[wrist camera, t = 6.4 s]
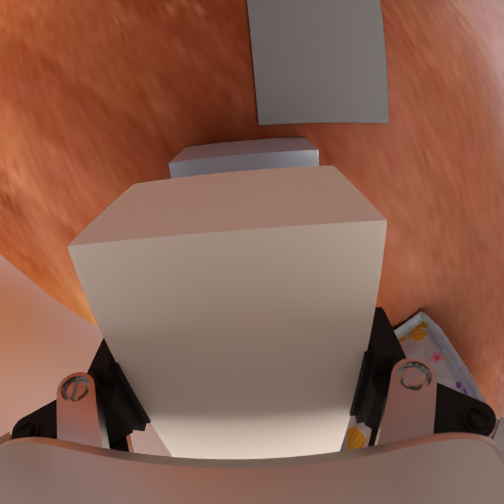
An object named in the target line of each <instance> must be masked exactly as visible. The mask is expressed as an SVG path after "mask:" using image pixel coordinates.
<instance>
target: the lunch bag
mask: <svg viewBox="0 0 504 504" xmlns="http://www.w3.org/2000/svg"><path fill="white" fill-rule="evenodd" d="M394 332H395V334H396V336H397V338H398V340H399V343H400V345H401V347H402V349H403V351H404V353H405V355H406V358H418V359H422V360H424V361H426V362H428V363H429V364H430V365H431V366H432V367H433V368H434V370H435V372H436V376H437V382H438V383H440V384H442V385H445V386H447V387H449V388H452V389H454V390H456V391H458V392H461V393H463V394H465V395H468V396H470V397H473V398H475V399H477V400H480V401H482V402H484V403H486V401H485V399H484V398H483V396H482V394H481V392H480V390H479V388H478V386H477V384H476V382H475V380H474V379H473V377H472V375H471V373H470V372H469V370H468V368H467V366H466V365H465V363H464V362H463V360H462V359H461V357H460V356H459V355H458V353H457V352H456V350H455V349H454V347H453V346H452V344H451V342H450V341H449V339H448V338H447V336H446V335H445V333H444V332H443V330H442V329H441V328H440V326H438V325H437V324H436V323H435V322H434V321H433V320H432V319H431V318H430V317H429V316H428V315H427V314H426V313H424V312H422V311H420V312H419V313H418V314H416V315H415V316H414V317H412V318H411V319H409V320H408V321H407V322H405V323H404V324H403V325H401V326H400V327H399V328H397V329H396V330H394ZM370 430H371V428H369V427H367V426H365V423H358V424H357V422H356V418H355V416H350V420H349V423H348V426H347V430H346V433H345V436H344V439H343V443H342V446H341V449H340V451H345V450H351V449H357V448H363V447H366V446H367V442H368V438H369V434H370Z"/></svg>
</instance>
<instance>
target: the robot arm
mask: <svg viewBox="0 0 504 504" xmlns="http://www.w3.org/2000/svg"><path fill="white" fill-rule="evenodd" d="M349 414H350V416H355V418H356V422H357V424H358V423H365V426H367V427H369V428H371V430H370V434H369V438H368V442H367V446H366V447H363V448H357V449H351V450H345V451H338V452H331V453H324V454H315V455H306V456H295V457H283V458H265V459H197V458H180V457H168V456H157V455H148V454H140V453H134V450H133V446H132V442H131V437H130V434H131V433H132V432H133V430H139V431H145V427H146V423H150V422H151V420H150V419H149V417H148V415H147V414H146V412H145V410H144V409H143V407H142V405H141V403H140V402H139V400H138V398H137V396H136V395H135V393H134V391H133V389H132V388H131V386H130V384H129V382H128V380H127V378H126V376H125V375H124V373H123V371H122V369H121V367H120V365H119V363H116V361H115V359H114V357H113V355H112V353H111V351H110V349H109V347H108V345H107V343H106V341H105V339H103V340H102V343H101V345H100V347H99V349H98V351H97V353H96V355H95V357H94V359H93V361H92V364H91V366H90V368H89V370H88V372H87V373H82V372H78V373H74V374H71V375H69V376H67V377H66V378H65V379H63V381H62V382H61V383H60V385H59V386H58V390H57V399H56V400H54V401H53V402H51V403H49V404H47V405H45V406H44V407H42V408H40V409H38V410H36V411H35V412H33V413H31V414H29V415H27V416H25V417H23V418H22V419H20V420H19V421H18V422H17V423H16V425H15V426H14V428H13V431H12V435H11V434H10V433H7V434H5V435H3V436H1V437H0V504H504V417H501V418H500V419H498V418H496V417H495V413H494V411H493V409H492V408H491V407H490V406H489V405H487V404H486V403H484V402H482V401H480V400H477V399H475V398H473V397H470V396H468V395H465V394H463V393H461V392H458V391H456V390H454V389H452V388H449V387H447V386H445V385H442V384H440V383H438V382H437V376H436V372H435V370H434V368H433V367H432V366H431V365H430V364H429V363H428V362H426V361H424V360H422V359H418V358H406V355H405V353H404V351H403V349H402V347H401V345H400V343H399V340H398V338H397V336H396V334H395V332H394V330H393V328H392V326H391V324H390V322H389V320H388V318H387V316H386V314H385V312H384V310H383V309H382V308H381V307H377V308H375V313H374V318H373V324H372V329H371V334H370V339H369V344H368V348H367V351H365V352H364V356H363V360H362V365H361V369H360V374H359V378H358V382H357V386H356V390H355V394H354V398H353V402H352V406H351V409H350V413H349Z"/></svg>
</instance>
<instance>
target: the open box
mask: <svg viewBox="0 0 504 504" xmlns="http://www.w3.org/2000/svg"><path fill="white" fill-rule="evenodd" d="M307 166H319V150H318V149H317V148H316V147H315V146H314V145H313V144H312V143H311V142H310V141H309V140H307V139H306V138H305V137H287V138H270V139H256V140H244V141H233V142H223V143H214V144H206V145H197V146H190V147H186V148H185V149H184V150H183V151H181V152H180V153H179V154H178V155H177V156H176V157H175V158H174V159H172V160H171V161H170V162H169V169H170V175H171V179H172V178H180V177H188V176H197V175H206V174H215V173H225V172H236V171H247V170H259V169H273V168H289V167H307Z"/></svg>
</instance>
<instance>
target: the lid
mask: <svg viewBox="0 0 504 504" xmlns="http://www.w3.org/2000/svg"><path fill="white" fill-rule="evenodd" d="M386 226H387V220H386V219H385V217H384V216H383V215H382V214H381V213H380V212H379V211H378V210H377V209H376V208H375V207H374V206H373V205H372V204H371V203H370V202H369V200H368V199H367V198H366V197H365V196H364V195H363V194H362V193H361V192H360V191H359V190H358V189H357V188H356V187H355V186H354V185H353V184H352V183H351V182H350V181H349V180H348V179H347V178H346V177H345V176H344V175H343V174H342V173H341V172H340V171H339V170H338V169H337V168H336V167H334V166H333V165H332V166H307V167H289V168H273V169H259V170H247V171H236V172H225V173H215V174H206V175H197V176H188V177H180V178H172V179H164V180H157V181H150V182H143V183H136V184H133V185H132V186H131V187H130V188H129V189H127V190H126V191H125V192H124V193H123V194H122V195H121V196H119V197H118V198H117V199H116V200H115V201H114V202H113V203H112V204H110V205H109V206H108V207H107V208H106V209H105V210H104V211H103V212H102V213H101V214H100V215H99V216H97V217H96V218H95V219H94V220H93V221H92V222H91V223H90V224H89V225H88V226H87V227H86V228H85V229H84V230H83V231H82V232H81V233H80V234H79V235H78V236H77V237H76V238H75V239H74V240H73V241H72V242H71V243H70V244H69V245H68V246H67V248H68V251H69V254H70V256H71V259H72V262H73V265H74V268H75V270H76V273H77V276H78V278H79V281H80V283H81V286H82V289H83V291H84V293H85V296H86V298H87V301H88V303H89V306H90V308H91V310H92V313H93V315H94V317H95V319H96V322H97V324H98V326H99V328H100V330H101V333H102V335H103V337H104V339H105V341H106V343H107V345H108V347H109V349H110V351H111V353H112V355H113V357H114V359H115V361H116V363H119V365H120V367H121V369H122V371H123V373H124V375H125V376H126V378H127V380H128V382H129V384H130V386H131V388H132V389H133V391H134V393H135V395H136V396H137V398H138V400H139V402H140V403H141V405H142V407H143V409H144V410H145V412H146V414H147V415H148V417H149V419H150V420H151V422H150V423H151V425H152V426H153V428H154V429H155V431H156V432H157V434H158V435H159V437H160V439H161V440H162V442H163V443H164V445H165V446H166V448H167V449H168V451H169V452H170V453H171V455H172V456H173V457H180V458H197V459H265V458H283V457H295V456H306V455H315V454H324V453H331V452H338V451H340V449H341V446H342V443H343V439H344V436H345V433H346V430H347V426H348V423H349V420H350V414H349V413H350V409H351V406H352V402H353V398H354V394H355V390H356V386H357V382H358V378H359V374H360V369H361V365H362V360H363V356H364V352H365V351H367V348H368V344H369V339H370V334H371V329H372V324H373V318H374V313H375V307H376V301H377V295H378V289H379V283H380V276H381V269H382V261H383V253H384V245H385V236H386Z"/></svg>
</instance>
